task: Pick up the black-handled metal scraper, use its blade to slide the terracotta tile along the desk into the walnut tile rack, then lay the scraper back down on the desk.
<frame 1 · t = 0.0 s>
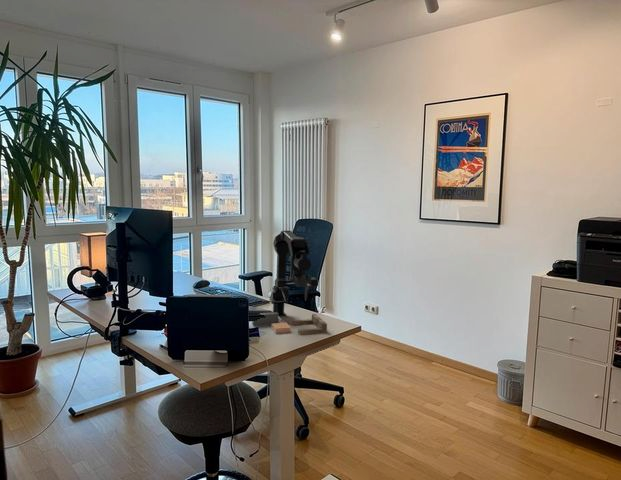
hand: (295, 301, 191), 15 cm above the table, tool pointing down, fingers open, 9 cm apart
tile rack: (305, 328, 201), on the table
tile: (280, 330, 197), on the table
scraper: (265, 323, 204), on the table
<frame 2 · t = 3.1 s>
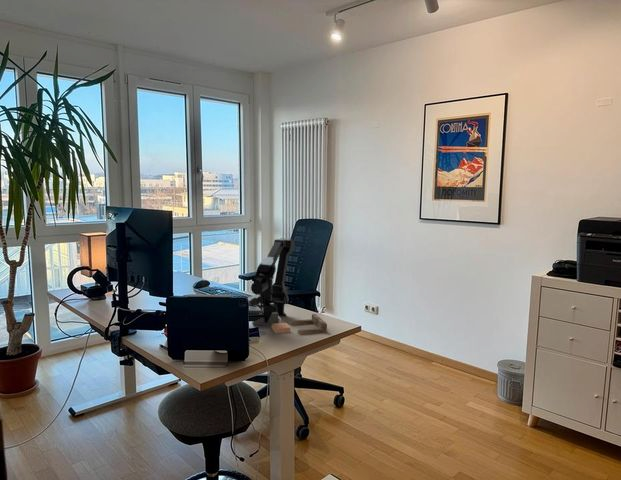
hand: (265, 321, 204), 1 cm above the table, tool pointing down, fingers closed on scraper, 3 cm apart
scraper: (265, 323, 204), on the table, touching gripper
everything else where it was.
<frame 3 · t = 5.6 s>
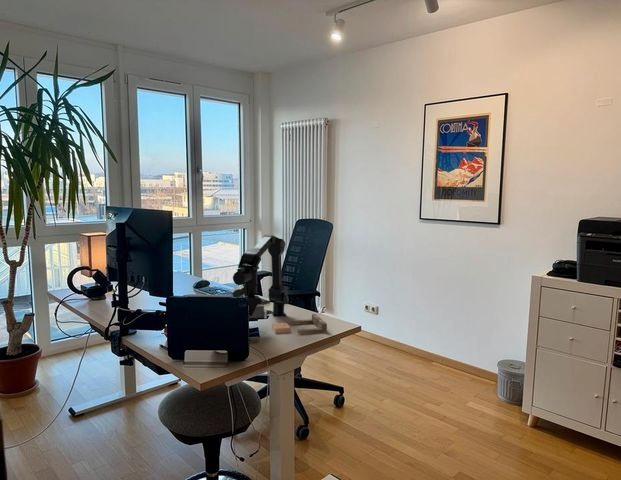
hand: (249, 314, 191), 8 cm above the table, tool pointing down, fingers closed on scraper, 3 cm apart
scraper: (249, 317, 191), point 7 cm above the table, touching gripper
everything else where it was.
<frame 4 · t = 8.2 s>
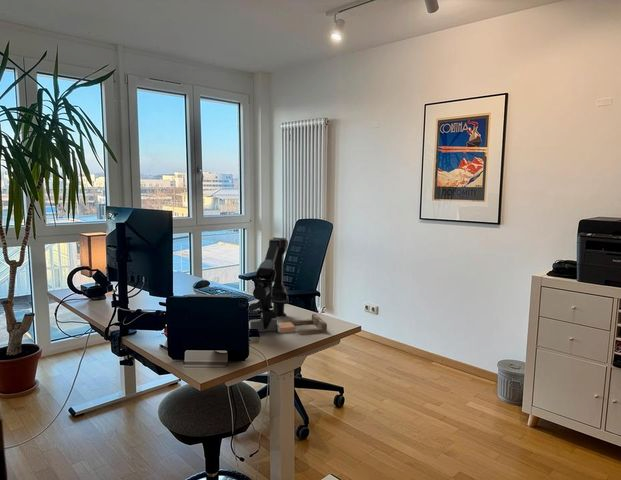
hand: (264, 327, 194), 1 cm above the table, tool pointing down, fingers closed on scraper, 3 cm apart
tile: (285, 330, 197), on the table, touching scraper
scraper: (263, 330, 194), on the table, touching gripper, tile
everything else where it was.
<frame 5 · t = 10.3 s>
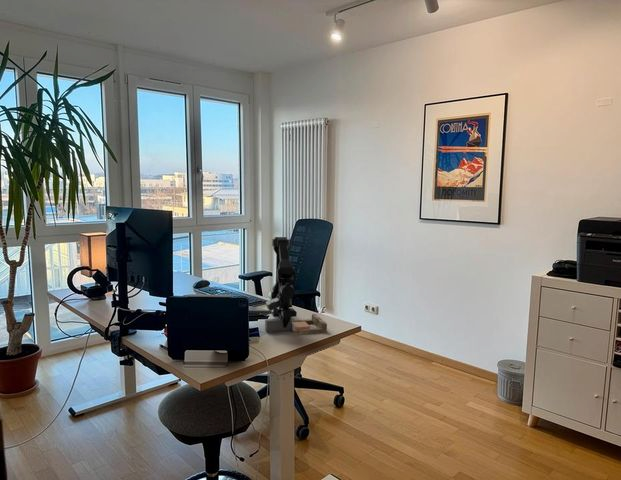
hand: (283, 326, 197), 2 cm above the table, tool pointing down, fingers closed on scraper, 3 cm apart
tile: (300, 329, 199), on the table
scraper: (278, 329, 196), on the table, touching gripper
everything else where it was.
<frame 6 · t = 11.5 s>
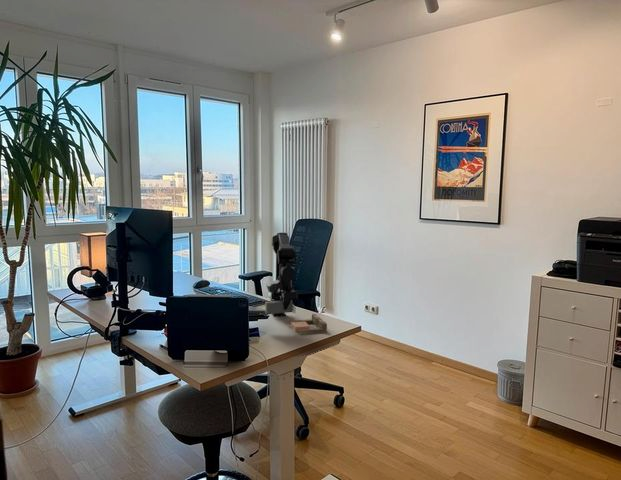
hand: (284, 308, 196), 10 cm above the table, tool pointing down, fingers closed on scraper, 3 cm apart
scraper: (278, 312, 195), point 8 cm above the table, touching gripper
everything else where it was.
when the fingers open (2 cm above the table, at t = 14.1 s): scraper stays where it is, on the table.
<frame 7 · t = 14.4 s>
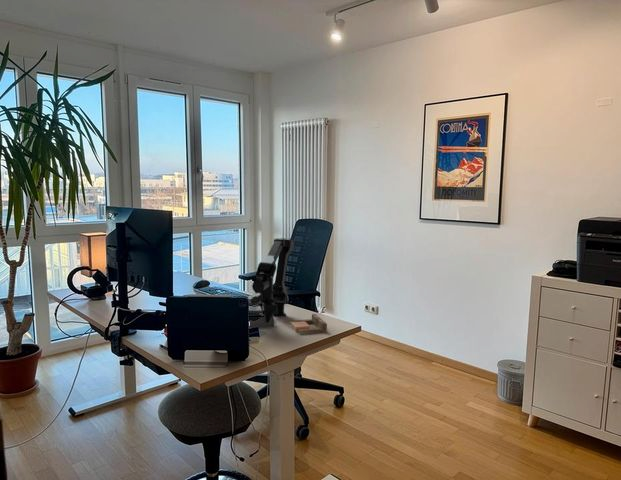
hand: (265, 320, 203), 2 cm above the table, tool pointing down, fingers open, 6 cm apart
scraper: (260, 324, 203), on the table
everything else where it was.
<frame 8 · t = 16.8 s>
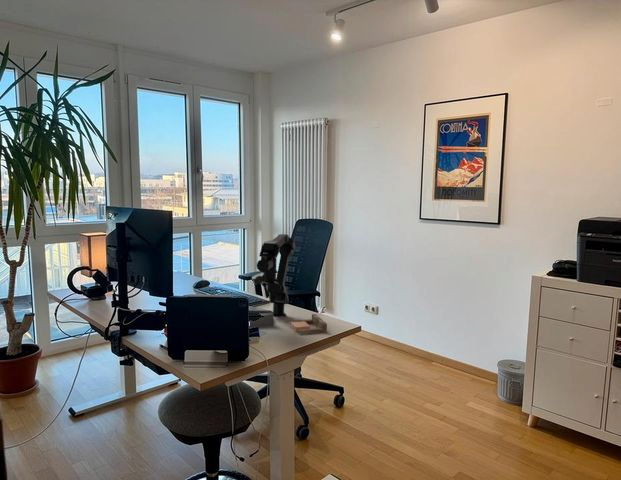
hand: (269, 300, 204), 11 cm above the table, tool pointing down, fingers open, 9 cm apart
nothing on the table moved.
at the end: tile inside the target area (3.6 cm from its centre), on the table; the gripper is holding nothing; scraper inside the target area (2.1 cm from its centre), on the table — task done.
